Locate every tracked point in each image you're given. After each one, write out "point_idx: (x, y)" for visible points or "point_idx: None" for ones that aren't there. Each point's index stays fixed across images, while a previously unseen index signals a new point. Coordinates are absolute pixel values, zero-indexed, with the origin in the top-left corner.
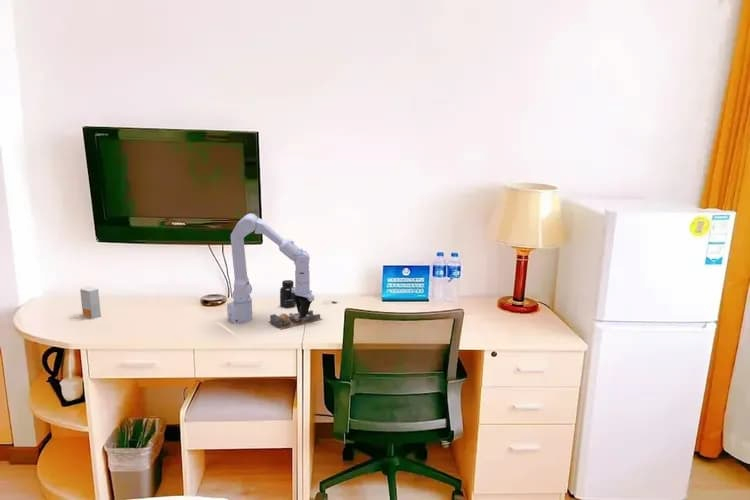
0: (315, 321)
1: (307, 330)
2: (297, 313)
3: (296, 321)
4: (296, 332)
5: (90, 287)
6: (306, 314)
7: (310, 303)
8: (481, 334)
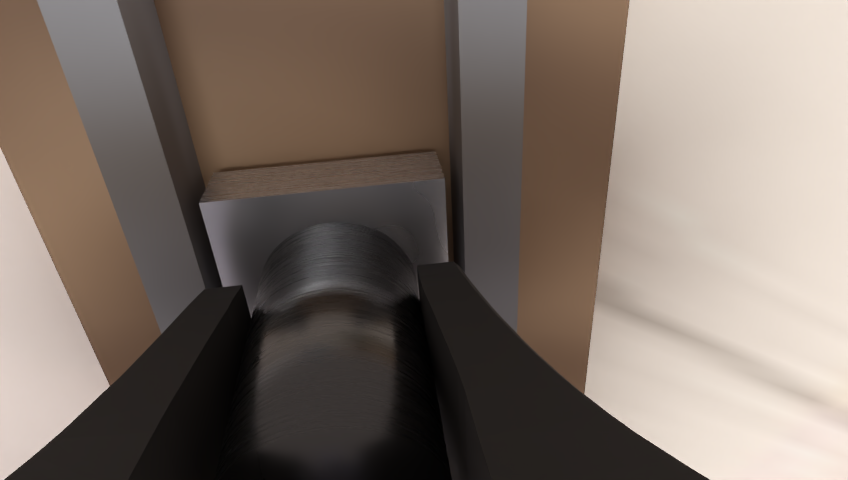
0: (616, 99)
1: (732, 311)
2: None
3: None
4: (678, 433)
5: None
6: (326, 209)
7: (680, 474)
8: None
